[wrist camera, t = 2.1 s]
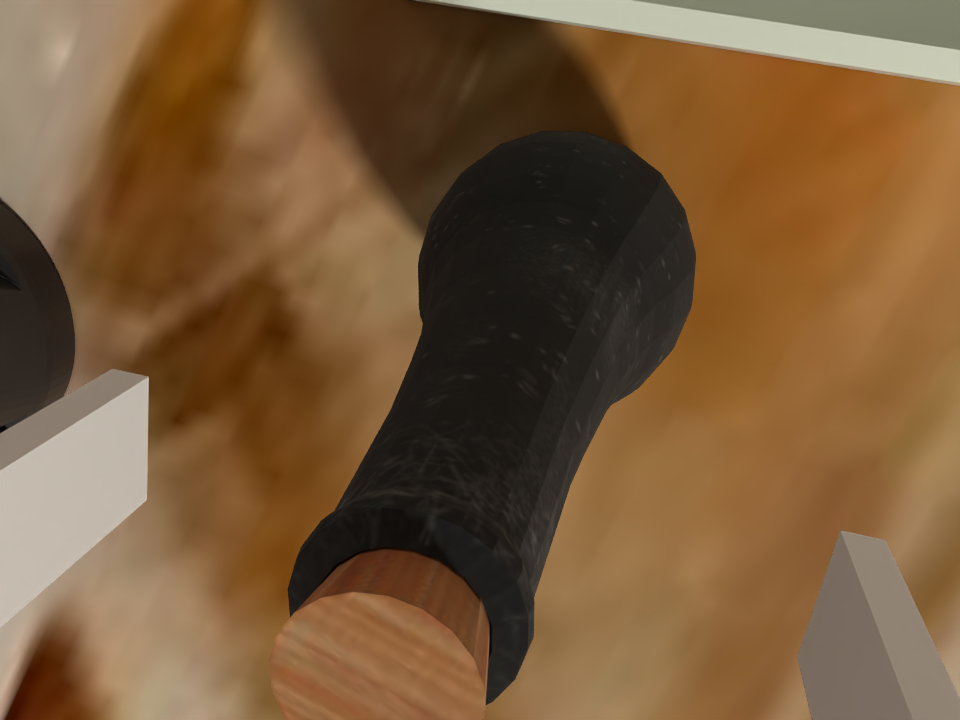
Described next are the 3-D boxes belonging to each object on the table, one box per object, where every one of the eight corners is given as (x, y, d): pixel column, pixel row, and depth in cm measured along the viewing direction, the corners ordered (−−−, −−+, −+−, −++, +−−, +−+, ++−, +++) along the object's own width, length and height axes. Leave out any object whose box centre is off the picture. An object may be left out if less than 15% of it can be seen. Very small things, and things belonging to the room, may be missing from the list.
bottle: (521, 75, 38) (150, 138, 10) (737, 194, 38) (984, 598, 10) (418, 284, 42) (-58, 754, 14) (613, 391, 42) (535, 1081, 14)
